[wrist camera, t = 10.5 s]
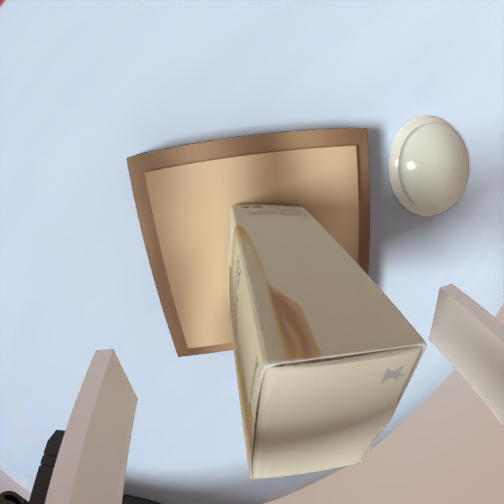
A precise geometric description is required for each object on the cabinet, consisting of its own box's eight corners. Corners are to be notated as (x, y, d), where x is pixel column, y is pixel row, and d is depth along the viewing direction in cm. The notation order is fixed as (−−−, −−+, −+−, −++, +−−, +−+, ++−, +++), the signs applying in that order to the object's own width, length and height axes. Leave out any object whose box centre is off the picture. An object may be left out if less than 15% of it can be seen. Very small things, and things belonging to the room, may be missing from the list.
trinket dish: (386, 219, 22) (398, 226, 21) (382, 114, 19) (395, 114, 17) (458, 208, 23) (471, 214, 21) (458, 118, 20) (472, 119, 18)
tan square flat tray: (180, 335, 24) (177, 360, 21) (137, 154, 18) (124, 158, 15) (351, 306, 24) (366, 326, 22) (349, 127, 19) (369, 128, 16)
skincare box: (228, 202, 17) (259, 352, 6) (304, 204, 18) (437, 332, 6) (226, 303, 19) (246, 486, 8) (293, 302, 20) (364, 466, 9)
